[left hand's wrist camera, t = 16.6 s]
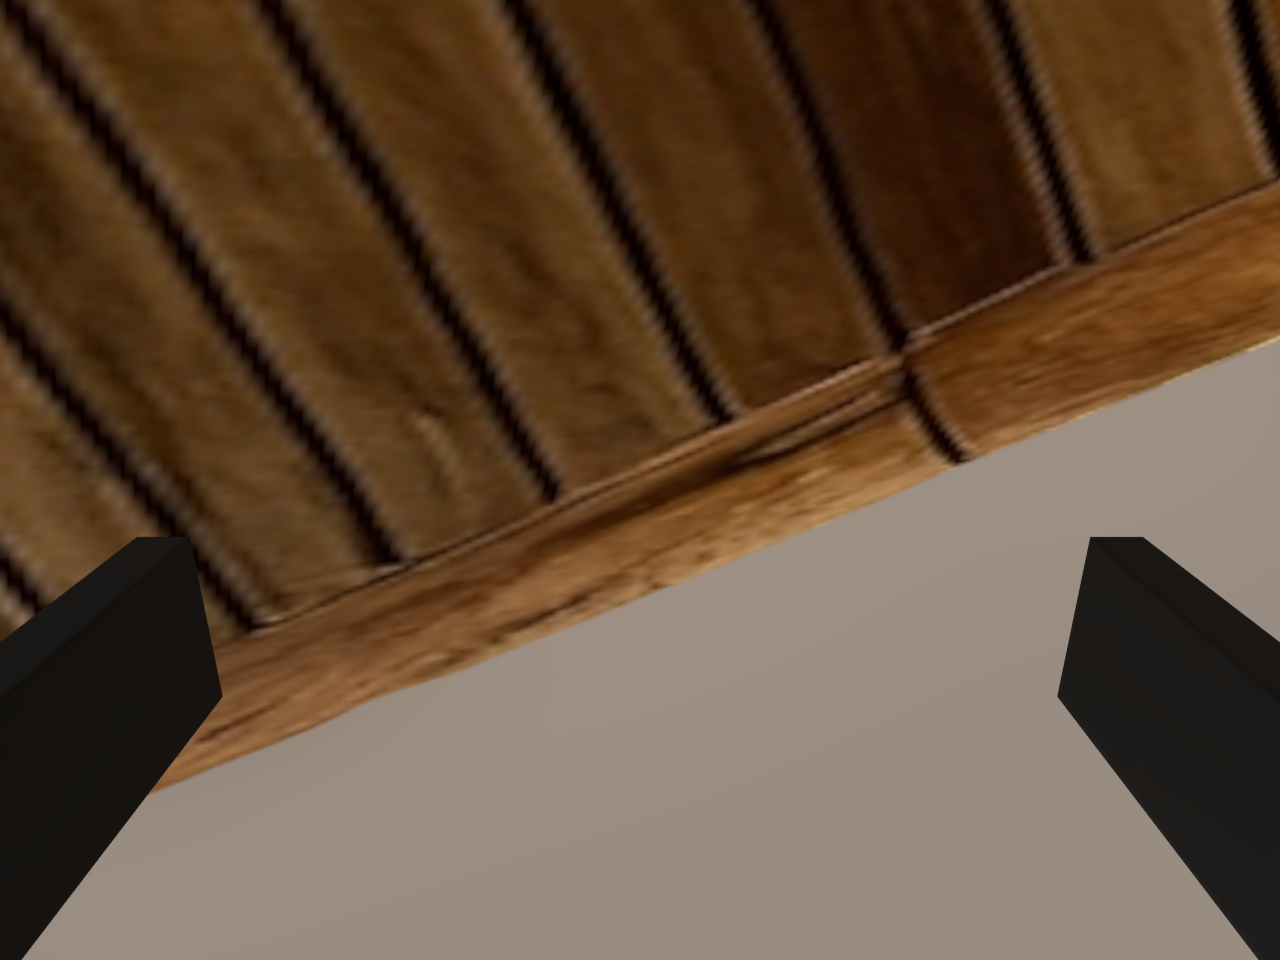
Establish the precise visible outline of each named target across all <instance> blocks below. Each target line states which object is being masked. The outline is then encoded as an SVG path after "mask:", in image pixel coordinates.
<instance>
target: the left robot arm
mask: <svg viewBox="0 0 1280 960" xmlns="http://www.w3.org/2000/svg"><path fill="white" fill-rule="evenodd" d="M222 697H223V696H222V691H221V686H220V681H219V676H218V672H217V667H216V662H215V657H214V652H213V647H212V643H211V638H210V633H209V628H208V623H207V618H206V614H205V609H204V604H203V599H202V594H201V589H200V585H199V580H198V575H197V570H196V565H195V560H194V556H193V551H192V546H191V541H190V537H137V538H135V539H134V540H133V541H131V542H130V543H129V544H127V545H126V546H125V547H123V548H122V549H121V550H120V551H118V552H117V553H116V554H114V555H113V556H112V557H110V558H109V559H108V560H107V561H105V562H104V563H103V564H101V565H100V566H99V567H97V568H96V569H95V570H94V571H92V572H91V573H90V574H88V575H87V576H86V577H84V578H83V579H82V580H81V581H79V582H78V583H77V584H75V585H74V586H73V587H71V588H70V589H69V590H68V591H66V592H65V593H64V594H62V595H61V596H60V597H58V598H57V599H56V600H55V601H53V602H52V603H51V604H49V605H48V606H47V607H45V608H44V609H43V610H42V611H40V612H39V613H38V614H36V615H35V616H34V617H32V618H31V619H30V620H29V621H27V622H26V623H25V624H23V625H22V626H21V627H19V628H18V629H17V630H16V631H14V632H13V633H12V634H10V635H9V636H8V637H6V638H5V639H4V640H3V641H1V642H0V960H22V958H23V957H24V956H25V955H26V953H27V952H28V951H29V949H30V948H31V947H32V945H33V944H34V943H35V941H36V940H37V939H38V937H39V936H40V935H41V934H42V932H43V931H44V930H45V928H46V927H47V926H48V924H49V923H50V922H51V920H52V919H53V918H54V917H55V915H56V914H57V913H58V911H59V910H60V909H61V907H62V906H63V905H64V903H65V902H66V901H67V900H68V898H69V897H70V896H71V894H72V893H73V892H74V890H75V889H76V888H77V886H78V885H79V884H80V883H81V881H82V880H83V879H84V877H85V876H86V875H87V873H88V872H89V871H90V869H91V868H92V867H93V865H94V864H95V863H96V862H97V860H98V859H99V858H100V856H101V855H102V854H103V852H104V851H105V850H106V848H107V847H108V846H109V845H110V843H111V842H112V841H113V839H114V838H115V837H116V835H117V834H118V833H119V831H120V830H121V829H122V828H123V826H124V825H125V824H126V822H127V821H128V820H129V818H130V817H131V816H132V814H133V813H134V812H135V811H136V809H137V808H138V807H139V805H140V804H141V803H142V801H143V800H144V799H145V797H146V796H147V795H148V794H149V792H150V791H151V790H152V788H153V787H154V786H155V784H156V783H157V782H158V780H159V779H160V778H161V777H162V775H163V774H164V773H165V771H166V770H167V769H168V767H169V766H170V765H171V763H172V762H173V761H174V760H175V758H176V757H177V756H178V754H179V753H180V752H181V750H182V749H183V748H184V746H185V745H186V744H187V743H188V741H189V740H190V739H191V737H192V736H193V735H194V733H195V732H196V731H197V729H198V728H199V727H200V726H201V724H202V723H203V722H204V720H205V719H206V718H207V716H208V715H209V714H210V712H211V711H212V710H213V709H214V707H215V706H216V705H217V703H218V702H219V701H220V699H221V698H222ZM1058 698H1059V699H1060V701H1061V702H1062V703H1063V705H1064V706H1065V707H1066V708H1067V710H1068V711H1069V712H1070V714H1071V715H1072V716H1073V718H1074V719H1075V720H1076V722H1077V723H1078V724H1079V726H1080V727H1081V728H1082V729H1083V731H1084V732H1085V733H1086V735H1087V736H1088V737H1089V739H1090V740H1091V741H1092V743H1093V744H1094V745H1095V746H1096V748H1097V749H1098V750H1099V752H1100V753H1101V754H1102V756H1103V757H1104V758H1105V760H1106V761H1107V762H1108V763H1109V765H1110V766H1111V767H1112V769H1113V770H1114V771H1115V773H1116V774H1117V775H1118V777H1119V778H1120V779H1121V780H1122V782H1123V783H1124V784H1125V786H1126V787H1127V788H1128V790H1129V791H1130V792H1131V794H1132V795H1133V796H1134V797H1135V799H1136V800H1137V801H1138V803H1139V804H1140V805H1141V807H1142V808H1143V809H1144V811H1145V812H1146V813H1147V815H1148V816H1149V817H1150V818H1151V820H1152V821H1153V822H1154V824H1155V825H1156V826H1157V828H1158V829H1159V830H1160V832H1161V833H1162V834H1163V835H1164V837H1165V838H1166V839H1167V841H1168V842H1169V843H1170V845H1171V846H1172V847H1173V848H1174V850H1175V851H1176V852H1177V854H1178V855H1179V856H1180V858H1181V859H1182V860H1183V862H1184V863H1185V864H1186V866H1187V867H1188V868H1189V869H1190V871H1191V872H1192V873H1193V875H1194V876H1195V877H1196V879H1197V880H1198V881H1199V883H1200V884H1201V885H1202V886H1203V888H1204V889H1205V890H1206V892H1207V893H1208V894H1209V896H1210V897H1211V898H1212V900H1213V901H1214V902H1215V903H1216V905H1217V906H1218V907H1219V909H1220V910H1221V911H1222V913H1223V914H1224V915H1225V917H1226V918H1227V919H1228V920H1229V922H1230V923H1231V924H1232V926H1233V927H1234V928H1235V930H1236V931H1237V932H1238V934H1239V935H1240V936H1241V938H1242V939H1243V940H1244V941H1245V943H1246V944H1247V945H1248V947H1249V948H1250V949H1251V951H1252V952H1253V953H1254V955H1255V956H1256V957H1257V958H1258V960H1280V642H1279V641H1277V640H1276V639H1275V638H1274V637H1272V636H1271V635H1270V634H1268V633H1267V632H1266V631H1264V630H1263V629H1262V628H1261V627H1259V626H1258V625H1257V624H1255V623H1254V622H1253V621H1251V620H1250V619H1249V618H1248V617H1246V616H1245V615H1244V614H1242V613H1241V612H1240V611H1238V610H1237V609H1236V608H1234V607H1233V606H1232V605H1231V604H1229V603H1228V602H1227V601H1225V600H1224V599H1223V598H1221V597H1220V596H1219V595H1218V594H1216V593H1215V592H1214V591H1212V590H1211V589H1210V588H1208V587H1207V586H1206V585H1205V584H1203V583H1202V582H1201V581H1199V580H1198V579H1197V578H1196V577H1194V576H1193V575H1192V574H1190V573H1189V572H1188V571H1186V570H1185V569H1184V568H1182V567H1181V566H1180V565H1179V564H1177V563H1176V562H1175V561H1173V560H1172V559H1171V558H1170V557H1168V556H1167V555H1166V554H1164V553H1163V552H1162V551H1160V550H1159V549H1158V548H1157V547H1155V546H1154V545H1153V544H1151V543H1150V542H1149V541H1147V540H1146V539H1145V538H1143V537H1090V541H1089V546H1088V551H1087V556H1086V560H1085V565H1084V570H1083V575H1082V580H1081V585H1080V589H1079V594H1078V599H1077V604H1076V609H1075V614H1074V618H1073V623H1072V628H1071V633H1070V638H1069V643H1068V647H1067V652H1066V657H1065V662H1064V667H1063V672H1062V676H1061V681H1060V686H1059V691H1058Z"/></svg>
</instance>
